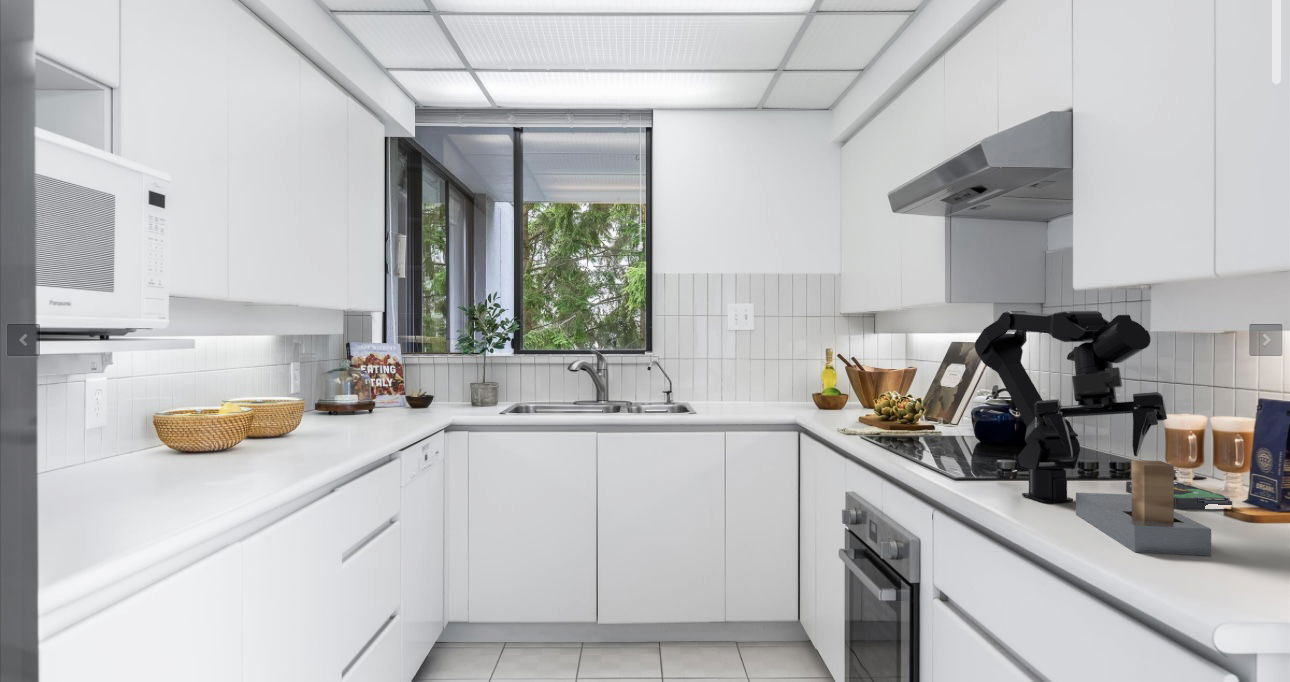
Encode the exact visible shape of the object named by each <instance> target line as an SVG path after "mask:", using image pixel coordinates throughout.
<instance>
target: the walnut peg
mask: <svg viewBox="0 0 1290 682" xmlns="http://www.w3.org/2000/svg"><path fill="white" fill-rule="evenodd" d="M1174 471H1175V470H1174V464H1170V463H1168V462H1164V461H1162V460H1143V459H1142V460H1141V459H1140V460H1139V459H1138V460H1137V459H1131V481H1132V517H1134V518H1135V519H1137V520H1139V521H1154V522H1174V512H1175V509H1174V482H1175V481H1174V479H1175V478H1174V475H1175V473H1174Z"/></svg>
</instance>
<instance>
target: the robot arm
mask: <svg viewBox="0 0 1290 682" xmlns="http://www.w3.org/2000/svg"><path fill="white" fill-rule="evenodd" d="M1008 331H1014V333H1012V332H1010V333H1009V332H1008ZM1027 332H1033V333H1042V334H1048V335H1050V336H1051V337H1052V338H1053V339H1056V340H1058V341H1060V342H1064V343H1081V344H1080V345H1077V346H1074V347H1073V349H1072V351H1070V352H1069V353H1068V354H1067V356H1066V360H1069V361H1072V362H1074V371H1075V372H1074V373H1075V375H1072V376H1071V380H1072V387H1073V395H1074V401H1075V402H1077V405H1076V404H1075V405H1062V404H1061V403H1062V402H1061V401H1060V399H1057V398H1056V399H1046V400H1044V399H1043V398H1042V397H1041V395H1040V393H1039V391H1038V390H1037V388H1036V386H1035V384H1034V383H1033V381H1032V379H1031V377H1030V376H1029V374H1028V373H1027V371H1026V369H1025V366H1024V365H1023V364H1022V356H1023V352H1024V350H1023V346H1024V345H1025V344H1026V342H1027V338H1028V337H1027ZM1150 344H1151V335H1150V332H1149V331H1148V330H1146V329H1145V327H1143V325H1141V324H1140V323H1139V322H1138V321H1135V320H1132V317H1131V315H1130V314H1117V315H1116V316H1114V317H1113V319H1111V321H1109V320H1107V319H1105V318H1104V317H1103V314H1102V312H1100V311H1099V310H1063V311H1058V312H1053V313H1040V312H1029V311H1028V312H1027V311H1026V310H1007V311H1005V312H1002V313H1001V314H1000V316H999V318H998V319H997V320H996V321H994V322H992V323H991V324H990V325H988V326H986V327H985V328H984V329H983V330H982V331H981V333H980V335H979V336H978V337H977V339H976V340H975V343H974V349H975V352H976V354H977V356H978V357H979V359H980V360H981V361H982V363H983V364H984V365H985V366H986V367H988V368H990V369H991V370H993V371H995V373H997V374H998V376H999V378H1000V380H1001V381H1002V384H1003V386H1004V388H1005V389H1006V391H1007V392H1008V394H1009V396H1010V399H1011V400H1012V402H1013V404H1014V406H1015V407H1016V409H1017V411H1018V412H1019V415H1020V417H1021V418H1022V420H1023V422H1024V424H1025V426H1026V430H1025V435H1024V436H1025V437H1024V441H1025V444H1026V445H1025V447H1023V449H1022V450H1021V451H1020V453H1018V455H1017V458H1018V462H1019V467H1021V468H1026V469H1028V492H1022V493H1021V496H1023V497H1025V498H1029V499H1031V500H1035V501H1038V502H1041V503H1044V504H1045V503H1047V504H1049V503H1063V502H1064V503H1067V502H1073V501H1074V498H1072V497H1068V478H1067V470H1075V469H1076V466H1077V464H1078V463H1077V462H1078V459H1079V455H1080V452H1081V446H1080V441H1079V439H1078V438H1077V437H1078V436H1079V434H1078V433H1076V431H1075V430H1074V428H1073V427H1072V425H1071V423H1070V421H1069V420H1068V419H1067V418H1069V417H1070V418H1072V417H1087V416H1088V417H1089V416H1104V415H1105V416H1107V415H1108V416H1109V415H1122V414H1132V452H1133V456H1134V457H1139V453H1140V450H1141V447H1142V444H1143V441H1144V439H1145V437H1146V435H1147V433H1148V432H1149V430H1150V428H1152V427H1151V426H1157V425H1158V424H1159V422H1158V421H1160V422H1161V421H1166V420H1167V419H1168V417H1167V410H1166V404H1165V399H1164V396H1163V394H1161V393H1160V392H1158V391H1154V392H1153V391H1152V392H1144V393H1143V392H1140V393H1138V392H1137V393H1133V394H1132V399H1133V401H1121V402H1120V401H1119V402H1118V401H1117V400H1118V399H1117V392H1116V388H1122V387H1123V381H1122V375H1121V372H1120V371H1121V369H1120V368H1119V367H1114V364H1121V363H1123V362H1124V361H1127V360H1129V358H1132V357H1133V356H1135V355H1137V354H1138V353H1140V352H1142V351H1143V350H1145V349H1146V348H1148V347H1150Z"/></svg>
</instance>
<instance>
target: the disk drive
mask: <svg viewBox="0 0 1290 682" xmlns="http://www.w3.org/2000/svg"><path fill="white" fill-rule="evenodd" d="M1125 492H1126V493H1129V494H1132V480H1131V481H1127V480H1126V482H1125ZM1208 504H1218V505H1232V506H1233V501H1232V500H1231V498H1230V497H1228V496H1225V495H1223V494H1219V493H1216V492H1212V491H1210V490H1206V489H1202V488H1199V487H1196V486H1192V485H1189V484H1186V483H1183V482H1178V481H1174V510H1178V511H1179V510H1181V511H1182V510H1190V511H1191V510H1195V511H1196V510H1198V511H1199V510H1204V509H1205V506H1206V505H1208Z"/></svg>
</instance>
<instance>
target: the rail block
mask: <svg viewBox="0 0 1290 682" xmlns="http://www.w3.org/2000/svg"><path fill="white" fill-rule="evenodd" d="M1075 515H1076V516H1077V517H1079V518H1081V519H1082V520H1084V522H1086V523H1089V525H1091V526H1093V527H1095V528H1096V529H1098V530H1099V531H1101V532H1102V533H1104V534H1105V535H1106V536H1108V537H1111V538H1112V539H1113V540H1115V541H1116V542H1118V543H1119V544H1121V545H1122V546H1124V547H1126V548H1128V549H1129V550H1130V551H1132V552H1134V553H1143V554H1164V555H1183V556H1203V557H1212V528H1211V527H1208V526H1206V525H1204V524H1202V523H1199V522H1197V521H1195V520H1193V519H1191V518H1189V517H1187V516H1184V515H1182V514H1180V513H1179V512H1177V511H1174V522H1154V521H1139V520H1137V519H1135V518H1134V517H1132V494H1131V493H1129V494H1127V493H1126V494H1125V493H1103V492H1102V493H1101V492H1100V493H1098V492H1097V493H1096V492H1075Z"/></svg>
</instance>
